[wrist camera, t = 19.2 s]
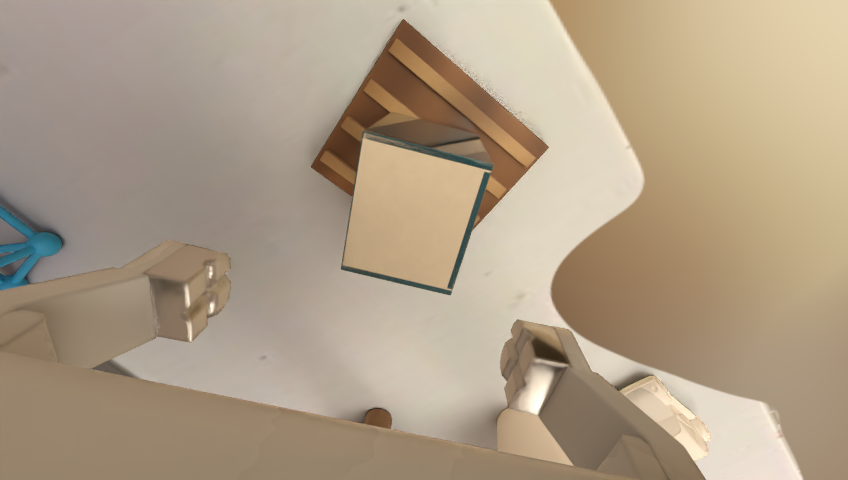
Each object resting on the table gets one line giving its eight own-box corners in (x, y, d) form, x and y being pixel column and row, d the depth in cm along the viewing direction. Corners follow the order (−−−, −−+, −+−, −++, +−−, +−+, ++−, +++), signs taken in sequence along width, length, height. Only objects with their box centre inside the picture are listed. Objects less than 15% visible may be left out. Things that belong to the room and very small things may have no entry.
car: (706, 425, 39) (737, 466, 35) (654, 447, 42) (678, 489, 37) (652, 364, 36) (679, 402, 32) (598, 392, 38) (617, 431, 34)
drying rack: (313, 164, 29) (307, 168, 28) (404, 20, 25) (402, 17, 23) (443, 258, 32) (443, 265, 31) (546, 145, 28) (551, 148, 26)
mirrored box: (450, 295, 21) (494, 164, 17) (340, 269, 20) (362, 130, 17) (449, 228, 30) (477, 134, 26) (373, 209, 29) (391, 111, 26)
